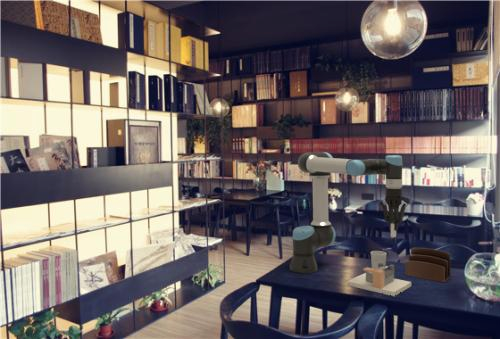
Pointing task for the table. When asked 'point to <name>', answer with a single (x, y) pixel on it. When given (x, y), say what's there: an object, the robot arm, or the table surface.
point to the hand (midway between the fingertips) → (393, 236)
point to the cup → (378, 258)
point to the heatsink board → (384, 290)
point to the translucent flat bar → (381, 268)
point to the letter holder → (428, 264)
